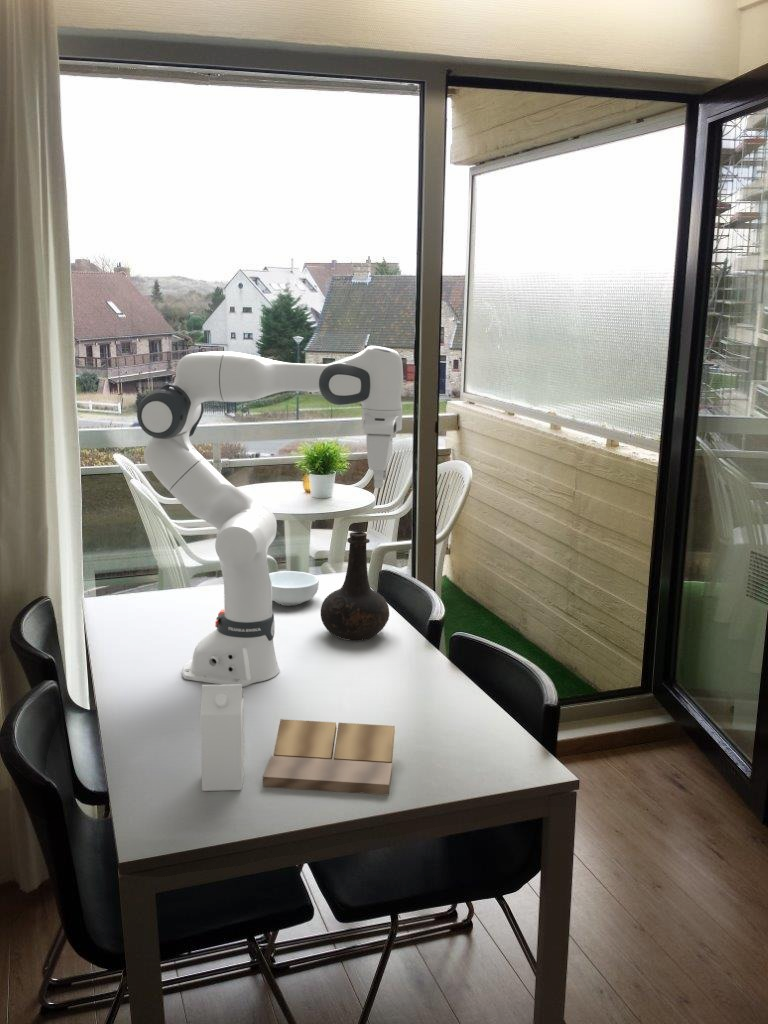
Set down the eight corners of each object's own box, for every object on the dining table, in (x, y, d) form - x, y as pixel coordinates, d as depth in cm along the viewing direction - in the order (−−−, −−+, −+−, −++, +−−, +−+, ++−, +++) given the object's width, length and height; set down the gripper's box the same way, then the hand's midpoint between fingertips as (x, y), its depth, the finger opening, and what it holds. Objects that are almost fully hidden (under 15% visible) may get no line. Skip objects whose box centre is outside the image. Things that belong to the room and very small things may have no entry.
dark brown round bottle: (306, 635, 245) (307, 532, 239) (352, 619, 259) (353, 521, 253) (357, 653, 234) (359, 545, 228) (402, 634, 248) (405, 532, 241)
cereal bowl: (294, 615, 261) (294, 590, 260) (249, 603, 270) (248, 580, 268) (330, 599, 275) (330, 576, 274) (286, 589, 284) (286, 567, 282)
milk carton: (206, 772, 174) (204, 677, 170) (244, 771, 175) (243, 676, 171) (202, 791, 167) (199, 693, 163) (242, 790, 168) (240, 692, 164)
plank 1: (274, 760, 179) (273, 754, 177) (281, 725, 184) (280, 719, 183) (331, 763, 178) (330, 758, 176) (336, 728, 184) (335, 722, 182)
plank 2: (334, 764, 178) (333, 758, 176) (339, 728, 184) (338, 722, 182) (391, 767, 177) (391, 761, 176) (394, 731, 183) (394, 725, 181)
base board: (262, 786, 169) (262, 776, 169) (271, 765, 177) (271, 755, 177) (388, 794, 168) (389, 784, 167) (392, 772, 175) (392, 763, 175)
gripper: (372, 415, 214) (370, 474, 218) (362, 426, 195) (361, 491, 198) (399, 416, 214) (397, 475, 217) (392, 428, 194) (391, 493, 197)
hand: (380, 483), depth 207 cm, fingers open, 8 cm apart
